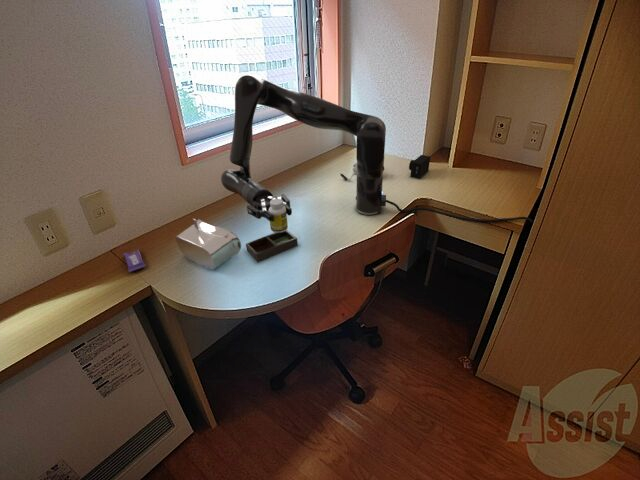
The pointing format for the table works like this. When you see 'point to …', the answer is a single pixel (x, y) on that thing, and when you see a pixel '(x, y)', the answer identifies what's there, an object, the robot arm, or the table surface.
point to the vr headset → (208, 244)
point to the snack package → (134, 260)
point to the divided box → (271, 245)
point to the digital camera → (419, 166)
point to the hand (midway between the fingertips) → (281, 215)
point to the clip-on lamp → (353, 171)
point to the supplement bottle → (278, 216)
